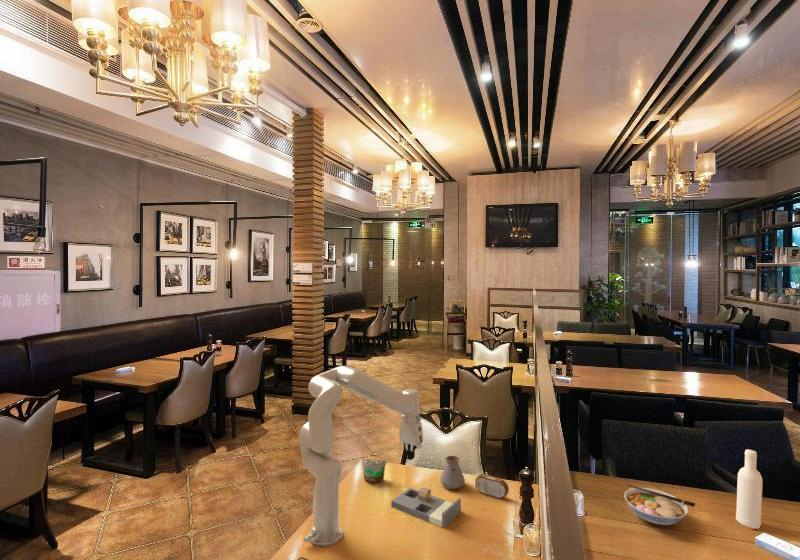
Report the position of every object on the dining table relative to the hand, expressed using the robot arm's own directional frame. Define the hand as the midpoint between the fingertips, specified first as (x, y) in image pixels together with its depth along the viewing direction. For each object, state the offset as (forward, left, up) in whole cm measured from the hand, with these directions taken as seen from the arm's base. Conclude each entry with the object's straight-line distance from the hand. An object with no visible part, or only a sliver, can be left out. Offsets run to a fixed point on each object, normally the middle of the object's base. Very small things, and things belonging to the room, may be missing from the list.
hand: (410, 458), depth 195 cm
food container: (+2, +23, -18) cm, 29 cm away
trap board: (-3, -10, -18) cm, 21 cm away
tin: (+24, -28, -18) cm, 41 cm away
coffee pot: (+17, -12, -18) cm, 27 cm away
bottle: (+64, -121, -18) cm, 138 cm away
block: (0, -7, -16) cm, 17 cm away
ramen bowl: (+46, -90, -18) cm, 103 cm away
